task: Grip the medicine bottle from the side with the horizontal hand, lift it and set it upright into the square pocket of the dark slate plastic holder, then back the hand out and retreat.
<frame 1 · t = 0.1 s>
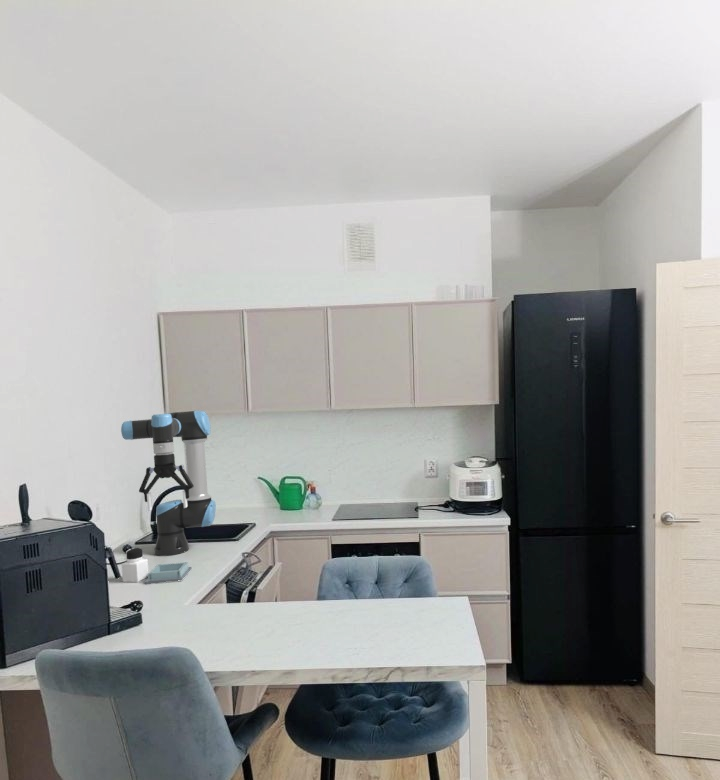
hand: (167, 508, 228), 28 cm above the worktop, tool pointing down, fingers open, 13 cm apart
medicine bottle: (135, 579, 234), on the worktop
bottle holder: (169, 576, 235), on the worktop
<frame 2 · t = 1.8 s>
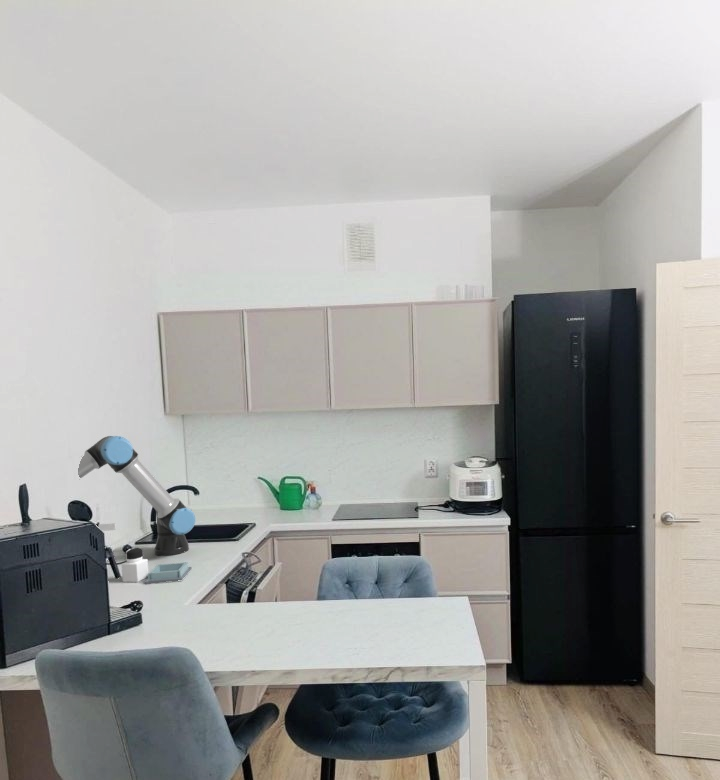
hand: (109, 530, 234), 20 cm above the worktop, tool horizontal, fingers open, 13 cm apart
nothing on the worktop moved.
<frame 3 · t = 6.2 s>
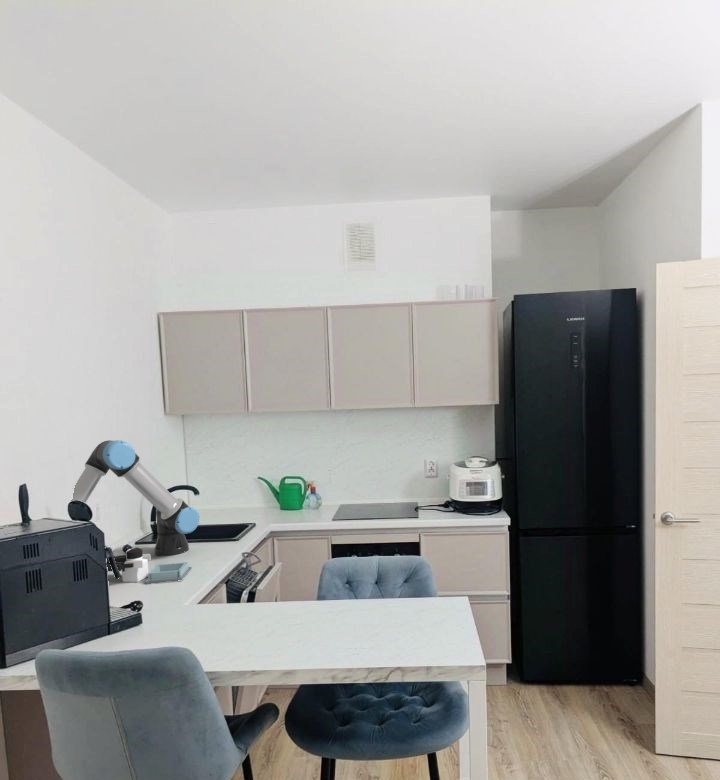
hand: (146, 560, 234), 7 cm above the worktop, tool horizontal, fingers closed on medicine bottle, 9 cm apart
medicine bottle: (135, 579, 234), on the worktop, touching gripper
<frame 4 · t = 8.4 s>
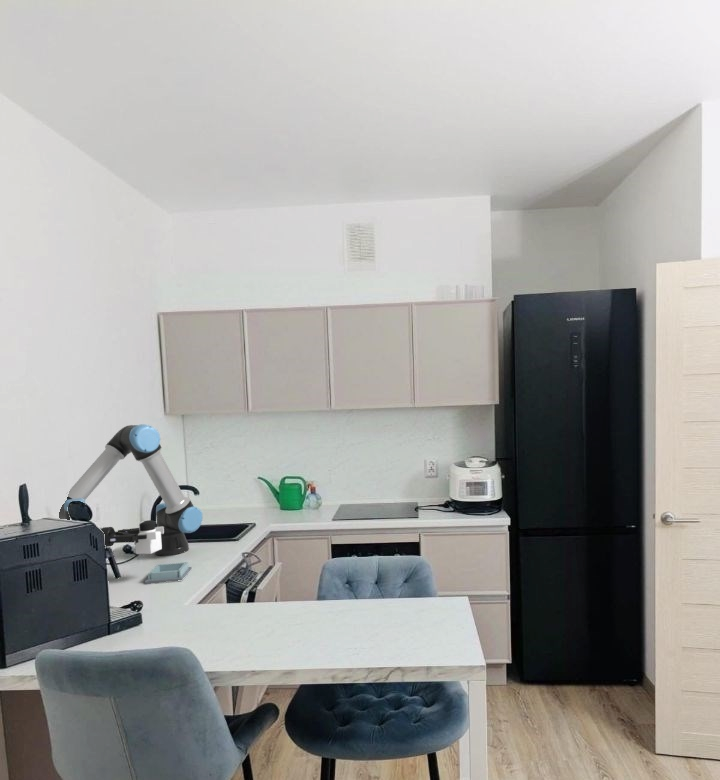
hand: (159, 532, 234), 18 cm above the worktop, tool horizontal, fingers closed on medicine bottle, 9 cm apart
medicine bottle: (149, 552, 234), point 10 cm above the worktop, touching gripper
when the fingers open (9 cm above the worktop, at t = 10.9 s): medicine bottle drops 1 cm, resting on bottle holder.
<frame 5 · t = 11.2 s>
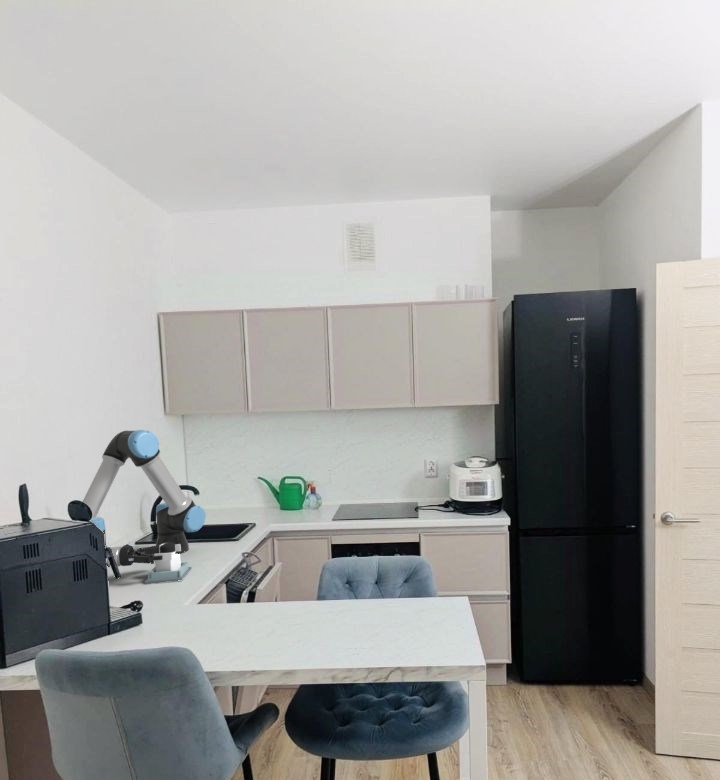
hand: (176, 551, 235), 9 cm above the worktop, tool horizontal, fingers open, 13 cm apart
medicine bottle: (168, 574, 235), point 1 cm above the worktop, touching bottle holder
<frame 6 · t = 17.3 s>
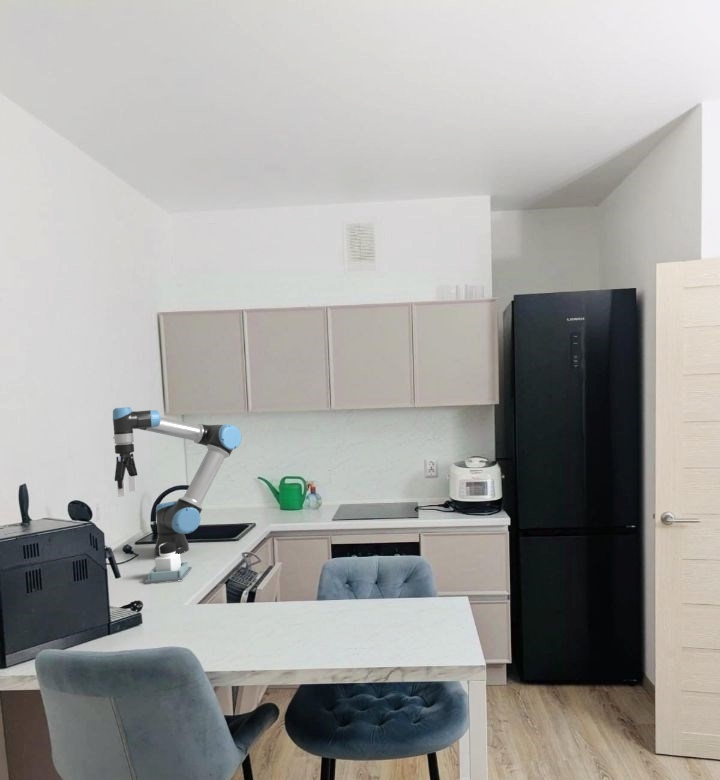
hand: (127, 493, 251), 32 cm above the worktop, tool pointing down, fingers open, 13 cm apart
nothing on the worktop moved.
at the end: medicine bottle 0.1 cm off-centre on the bottle holder, point 0.8 cm above the bottle holder's base; medicine bottle tilted 0°; the gripper is holding nothing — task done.
